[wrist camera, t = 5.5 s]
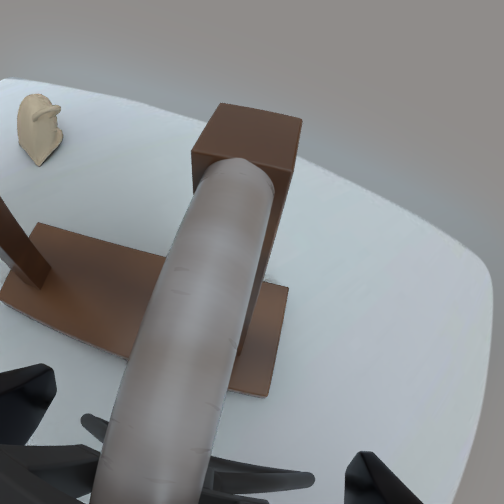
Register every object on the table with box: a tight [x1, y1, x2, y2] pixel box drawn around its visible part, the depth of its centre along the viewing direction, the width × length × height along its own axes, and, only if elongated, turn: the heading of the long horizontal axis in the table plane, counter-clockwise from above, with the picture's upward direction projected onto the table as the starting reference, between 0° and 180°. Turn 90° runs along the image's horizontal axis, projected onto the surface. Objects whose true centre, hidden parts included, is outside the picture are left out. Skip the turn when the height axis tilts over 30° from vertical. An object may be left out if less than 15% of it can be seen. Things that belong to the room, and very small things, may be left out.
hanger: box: [0, 414, 315, 504], centre depth 5 cm, size 9×1×10 cm, turn 78°
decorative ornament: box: [17, 94, 63, 167], centre depth 20 cm, size 4×8×5 cm, turn 51°
